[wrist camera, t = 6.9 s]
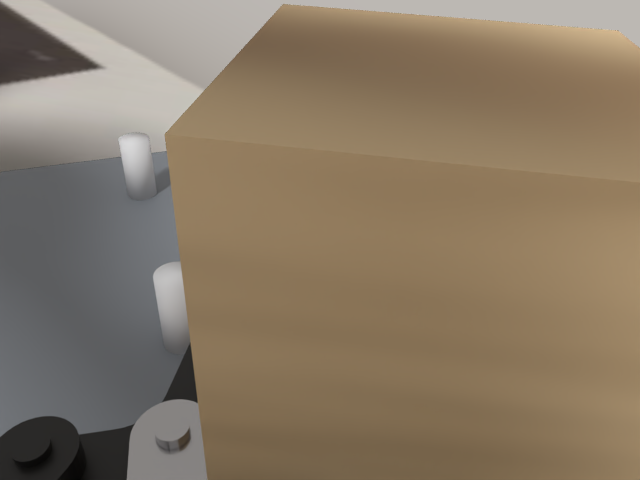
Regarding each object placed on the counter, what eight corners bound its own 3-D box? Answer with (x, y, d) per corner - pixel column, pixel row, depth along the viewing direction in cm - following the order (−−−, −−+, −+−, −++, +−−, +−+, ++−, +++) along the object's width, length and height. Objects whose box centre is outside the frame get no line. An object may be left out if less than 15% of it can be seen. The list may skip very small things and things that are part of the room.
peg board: (-488, 702, 12) (-696, 612, 9) (-192, 224, 27) (-241, 139, 24) (347, 429, 19) (358, 333, 16) (212, 168, 34) (206, 97, 31)
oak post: (459, 754, 12) (831, 201, 4) (236, 711, 12) (164, 134, 4) (447, 527, 16) (617, 30, 8) (279, 501, 16) (283, 4, 8)
